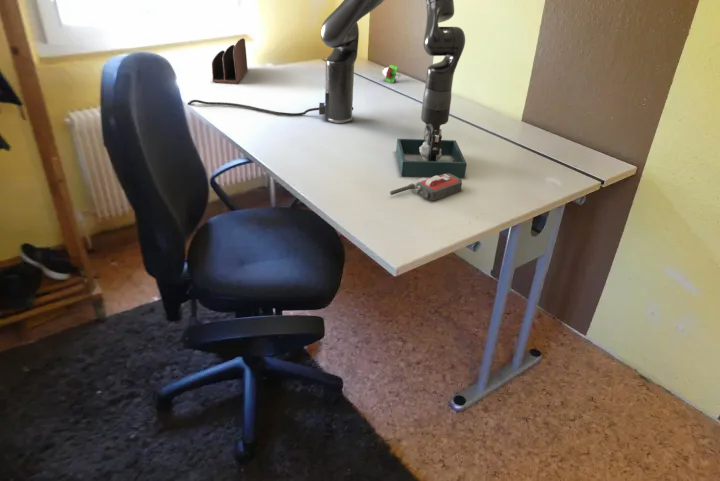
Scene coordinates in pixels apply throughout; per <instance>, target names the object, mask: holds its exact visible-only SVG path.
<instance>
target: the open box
mask: <svg viewBox="0 0 720 481" xmlns="http://www.w3.org/2000/svg"><path fill="white" fill-rule="evenodd" d="M423 142H425V139H424V138H423V139H422V138H420V139H419V138H397V140H396V149H395V154H396V158H397V163H398V168H399V172H400V177H404V178H405V177H407V178H408V177H409V178H430V177H431V178H432V177H433V176H436V175H437V176H439V175H442V174H447V173H450V174H452V175H454V176H456V177H458V178H460V179H465V178H466V170H467V165H468V162H467V161H466V159H465V156H464V154H463V153H462V150H461V148H460V146H459V144H458V142H457V140H456V139H455V140H454V139H441V145H440V149H441V150H442V151H441V153H442V154H441V156H451V157H452V160H453V161H441V160H440V161H423V160H406V157H405V155H421V154H420V151H419V150H420V149H419V148H420V147H421V145H422V146H423Z"/></svg>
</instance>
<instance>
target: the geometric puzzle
mask: <svg viewBox="0 0 720 481" xmlns="http://www.w3.org/2000/svg"><path fill="white" fill-rule="evenodd" d="M398 69H399V66H398V65H393V64H388V66H386V67H384V69H383V70H382V71H381V72H382V75H383V77H385V78H383V79H384V81H385V82H388V83H391V84H394V83H395V81H396V76H397V77H398V79H400V76H401V74H400V73H399V72H398ZM397 73H398V74H397Z"/></svg>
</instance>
